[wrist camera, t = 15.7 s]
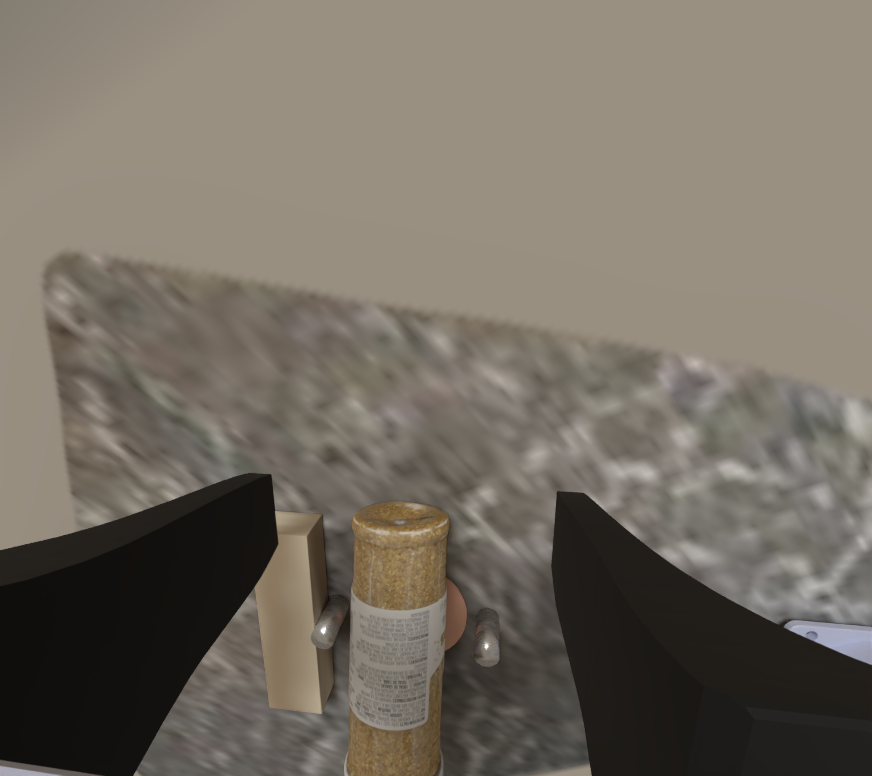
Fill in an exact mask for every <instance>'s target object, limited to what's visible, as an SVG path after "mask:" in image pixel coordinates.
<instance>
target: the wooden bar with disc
mask: <svg viewBox="0 0 872 776" xmlns="http://www.w3.org/2000/svg"><path fill="white" fill-rule="evenodd" d="M275 514H276V524H277V533H278V543H279V544H278V546H277V548H276V550H275V552H274V554H273V556H272V558H271V560H270V562H269V564H268V566H267V568H266V569H265V571H264V573H263V575H262V577H261V578H260V580H259V581H258V583H257V584H256V586H255V592H256V600H257V608H258V616H259V624H260V633H261V641H262V649H263V657H264V665H265V673H266V681H267V690H268V698H269V706H270V707H271V708H279V709H287V710H295V711H303V712H311V713H319V714H322V712H323V709H324V707H325V704H326V702H327V699H328V697H329V694H330V691H331V689H332V686H333V684H334V670H333V657H332V647H331V648H329V649H320V648H318V647H316V646H315V645H314V644H313V643H312V641H311V634H312V632H313V630H314V628H315V626H316V624H317V622H318V620H319V618H320V616H321V614H322V612H323V610H324V608H325V606H326V604H327V602H328V589H327V575H326V562H325V548H324V535H323V521H322V514H309V513H294V512H280V511H275ZM445 585H446V589H447V601H446V627H445V650H444V651H446V650H448V649H449V648H451V647H452V646H453V645H454V644H456V642H457V641H458V640H459V639H460V637H461V636H462V634H463V632H464V630H465V626H466V621H467V609H466V604H465V601H464V599H463V596H462V594H461V593H460V591H459V589H458V588H457V587H456V585H455V584H454V583H453V582H452V581H451V580H450V579H449V578H447V577H446V579H445Z"/></svg>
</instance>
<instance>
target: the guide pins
mask: <svg viewBox="0 0 872 776" xmlns="http://www.w3.org/2000/svg"><path fill="white" fill-rule="evenodd" d="M348 609H349V601H348V600H347V599H346V598H345V597H344V596H342V595H333V596H331V597H330V599H329V600H328V602H327V604H326V606H325V608H324V610H323V612H322V614H321V616H320V618H319V620H318V622H317V624H316V626H315V628H314V630H313V632H312V634H311V641H312V643H313V644H314V645H315V646H316V647H318V648H320V649H329V648H331V647H332V646H333V644H334V641H335V639H336V637H337V634H338V632H339V630H340V627H341V625H342V623H343V621H344V618H345V616H346V614H347V611H348ZM474 658H475V660H476V662H477V663H478V664H480V665H482V666H484V667H492V666H494V665H496V664H497V663H498V661H499V616H498V614H497V612H496V611H494V610H492V609H489V608H485V609H481V610H480V611H479V612H478V613H477V616H476V633H475V651H474Z"/></svg>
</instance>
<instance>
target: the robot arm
mask: <svg viewBox="0 0 872 776" xmlns="http://www.w3.org/2000/svg"><path fill="white" fill-rule="evenodd" d="M278 544H279V543H278V533H277V524H276V514H275V505H274V495H273V485H272V476H271V474H257V473H247V474H243V475H239V476H236V477H233V478H230V479H227V480H224V481H221V482H218V483H216V484H213V485H210V486H208V487H205V488H202V489H200V490H197V491H195V492H192V493H189V494H187V495H184V496H182V497H179V498H176V499H174V500H171V501H169V502H166V503H163V504H160V505H157V506H155V507H152V508H149V509H146V510H144V511H141V512H138V513H135V514H132V515H130V516H127V517H124V518H121V519H118V520H115V521H112V522H108V523H105V524H102V525H99V526H95V527H92V528H88V529H85V530H81V531H78V532H74V533H71V534H68V535H63V536H60V537H56V538H51V539H47V540H43V541H39V542H34V543H30V544H25V545H21V546H17V547H13V548H8V549H4V550H0V776H133V775H134V773H135V771H136V770H137V768H138V766H139V764H140V763H141V761H142V759H143V757H144V755H145V754H146V752H147V750H148V748H149V746H150V745H151V743H152V741H153V739H154V738H155V736H156V734H157V732H158V730H159V729H160V727H161V725H162V723H163V721H164V720H165V718H166V716H167V715H168V713H169V711H170V710H171V708H172V706H173V705H174V703H175V701H176V700H177V698H178V696H179V695H180V693H181V691H182V690H183V688H184V686H185V685H186V683H187V681H188V679H189V678H190V676H191V675H192V673H193V672H194V670H195V669H196V667H197V666H198V664H199V663H200V661H201V660H202V658H203V657H204V656H205V654H206V653H207V652H208V650H209V649H210V647H211V646H212V645H213V643H214V642H215V641H216V639H217V638H218V637H219V635H220V634H221V632H222V631H223V630H224V628H225V627H226V626H227V624H228V623H229V622H230V620H231V619H232V617H233V616H234V615H235V613H236V612H237V611H238V609H239V608H240V607H241V605H242V604H243V602H244V601H245V600H246V598H247V597H248V595H249V594H250V593H251V591H252V590H253V588H254V587H255V586H256V584H257V583H258V581H259V580H260V578H261V577H262V575H263V573H264V571H265V569H266V568H267V566H268V564H269V562H270V560H271V558H272V556H273V554H274V552H275V550H276V548H277V546H278ZM551 567H552V576H553V585H554V593H555V601H556V607H557V612H558V616H559V620H560V624H561V628H562V632H563V637H564V641H565V645H566V649H567V653H568V657H569V661H570V665H571V669H572V673H573V677H574V681H575V685H576V689H577V693H578V697H579V702H580V707H581V712H582V716H583V721H584V727H585V734H586V740H587V747H588V754H589V760H590V767H591V773H592V776H872V627H867V626H856V625H845V624H833V623H822V622H811V621H799V620H794V621H790V622H788V623H787V624H785V626H784V627H782V626H780V625H778V624H776V623H773V622H771V621H769V620H767V619H765V618H763V617H761V616H760V615H758V614H756V613H754V612H752V611H750V610H748V609H746V608H744V607H742V606H740V605H738V604H737V603H735V602H733V601H731V600H729V599H727V598H726V597H724V596H722V595H720V594H718V593H717V592H715V591H713V590H712V589H710V588H708V587H707V586H705V585H703V584H702V583H700V582H699V581H697V580H695V579H694V578H692V577H691V576H689V575H687V574H686V573H684V572H683V571H681V570H680V569H678V568H677V567H675V566H674V565H672V564H671V563H669V562H668V561H667V560H665V559H664V558H662V557H661V556H660V555H658V554H657V553H656V552H654V551H653V550H652V549H650V548H649V547H648V546H646V545H645V544H644V543H642V542H641V541H640V540H639V539H637V538H636V537H635V536H634V535H632V534H631V533H630V532H629V531H627V530H626V529H625V528H624V527H623V526H622V525H620V524H619V523H618V522H617V521H616V520H615V519H613V518H612V517H611V516H610V515H609V514H608V513H607V512H605V511H604V510H603V509H602V508H601V507H600V506H599V505H597V504H596V503H595V502H594V501H593V500H592V499H591V498H589V497H588V496H587V495H586V494H584V493H577V492H560V491H557V499H556V512H555V525H554V538H553V552H552V565H551ZM810 631H811V632H810ZM808 632H810V633H808ZM806 633H808V634H806Z"/></svg>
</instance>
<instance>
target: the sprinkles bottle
mask: <svg viewBox="0 0 872 776" xmlns="http://www.w3.org/2000/svg"><path fill="white" fill-rule="evenodd" d="M449 527H450V519H449V517H448V515H447V514H446V513H445V512H443V511H442V510H441V509H437V508H436V507H432V506H430V505H426V504H422V503H414V502H408V501H392V502H384V503H376V504H372V505H369V506H367V507H365V508H363V509H361V510H360V511H358V512H357V513H356V514H355V515H354V517H353V518H352V530H353V532H354V537H355V544H354V579H353V583H352V586H351V617H350V662H349V704H350V718H349V719H350V722H349V750H348V752H347V755H346V759H345V765H344V776H443V756H442V751H441V745H440V727H441V724H440V723H441V703H442V675H443V670H444V650H445V627H446V601H447V589H446V585H445V579H446V557H447V549H446V548H447V534H448V532H449Z"/></svg>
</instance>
